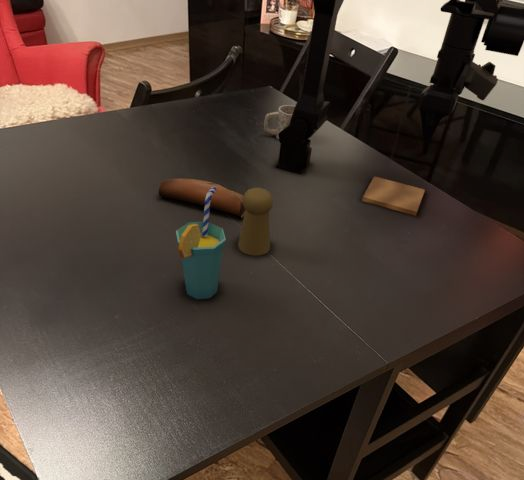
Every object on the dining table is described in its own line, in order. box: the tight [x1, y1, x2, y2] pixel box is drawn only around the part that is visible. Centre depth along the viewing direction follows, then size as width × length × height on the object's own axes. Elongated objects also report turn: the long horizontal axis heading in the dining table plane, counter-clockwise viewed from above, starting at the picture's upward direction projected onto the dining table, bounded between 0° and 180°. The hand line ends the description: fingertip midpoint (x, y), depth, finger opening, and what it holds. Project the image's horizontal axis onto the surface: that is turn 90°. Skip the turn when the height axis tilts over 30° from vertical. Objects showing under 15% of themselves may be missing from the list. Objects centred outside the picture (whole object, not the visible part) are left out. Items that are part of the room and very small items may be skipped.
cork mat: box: [361, 176, 426, 217], centre depth 107 cm, size 12×11×1 cm
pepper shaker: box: [237, 187, 274, 257], centre depth 86 cm, size 6×6×11 cm
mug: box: [263, 104, 296, 140], centre depth 122 cm, size 10×7×7 cm, turn 98°
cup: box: [175, 187, 227, 300], centre depth 75 cm, size 14×8×15 cm, turn 170°
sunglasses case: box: [158, 178, 246, 219], centre depth 98 cm, size 18×7×7 cm
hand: (430, 133), depth 97 cm, fingers open, 9 cm apart
